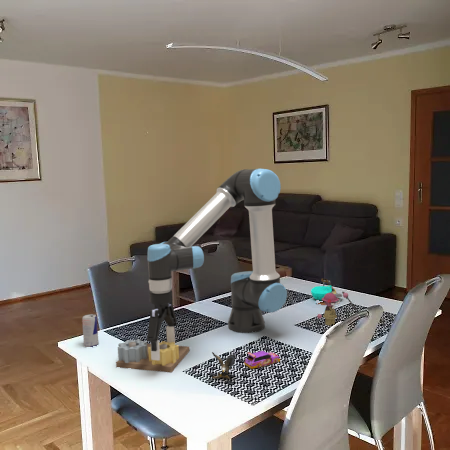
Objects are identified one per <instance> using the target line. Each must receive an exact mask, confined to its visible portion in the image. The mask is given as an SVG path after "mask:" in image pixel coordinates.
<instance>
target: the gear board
mask: <svg viewBox="0 0 450 450" xmlns="http://www.w3.org/2000/svg"><path fill="white" fill-rule="evenodd" d="M135 346H136V342H130V343H129V347H135ZM148 347H151V343H147V352H148ZM178 348H179V359H176V362H175V363H168V364H166V365H163V366H162V364H155V365H153V364H152V361H149V352H148V354H147V358H146V359H141V360H140V362H136V361H134V362H129V363H125V361H123V360H121V361H119V360H117V361H116V362H115V366H116V367H115V368H117V367H120V368H119V369H128V368H131V369H130V370H139V371H140V370H141V371H149V372H150V371H151V372H159V373H160V372H161V373H173V371H174V370H175V369H177V367H178V366H179V365H180V363H181V362H182V361H183V360H184V358H186V356H187V355H188V353H190V350H191V349H190V346H188V345H187V346H186V345H185V346H184V345H178ZM160 349H167V344H161V345H160Z"/></svg>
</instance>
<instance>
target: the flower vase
mask: <svg viewBox="0 0 450 450" xmlns="http://www.w3.org/2000/svg"><path fill="white" fill-rule="evenodd" d="M341 294H342V297H343V298H344V299H346V300H348V302H349V303H350V305H351V306H352V307H353V308H354V309H357V307H356V305H354V303H353V302H352V301H351V300H350V299H349V294H348V292H344V291H341ZM338 298H339V297H336V296H335V295H334V294H333V293H327V294H326V295H325V296H324V298H322V300H323V301H324V302H325V304H326V305H325V306H326V307H325V308H324V314H323V315H322V314H321V313H318V314H317V315H316V317H317V318H318V319H322V318H324V319H325V323H324V324H325V325H326V326H333V325H335V324H336V323H335V322H336V321H335V320H336V319H337V318H338V316H337V315H336V314H337V313H336V310H335V308H336V305H339V304H340V303H341V298H340V299H338ZM332 324H333V325H332Z"/></svg>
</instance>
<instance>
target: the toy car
mask: <svg viewBox="0 0 450 450" xmlns="http://www.w3.org/2000/svg"><path fill="white" fill-rule="evenodd" d="M247 355H248V356H247V357H246V358H245V359H244V362H243V364H244V366H246V367H248V368H249V369H259V368H261V367H265V366H269V365H273V364H276V363H279V362H281V358H280V356H279V355H278V354H276V353H274V352H266V351H264V350H259V351H256V352H253V353H251V352H247Z"/></svg>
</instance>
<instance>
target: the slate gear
mask: <svg viewBox="0 0 450 450" xmlns="http://www.w3.org/2000/svg"><path fill="white" fill-rule="evenodd" d="M130 342H136V346H135V347H129V343H130ZM147 344H148V341H147V340H144V341H142V340H141V339H139V338H138V339H134V340H133V339H132V340H131V339H127V340H126V341H125V342H120V343H118V346H117V359H118V360H119V361H121V360H123V361H125V363H129V362H134V361H136V362H140V360H141V359H146V358H147V354H148V352H147ZM118 360H117V361H118Z"/></svg>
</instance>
